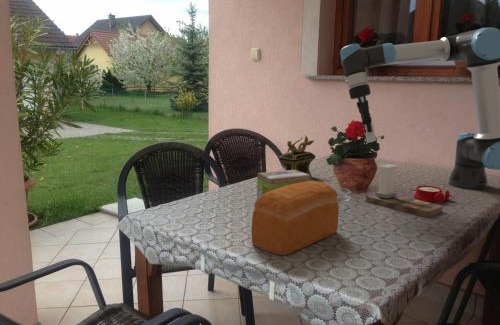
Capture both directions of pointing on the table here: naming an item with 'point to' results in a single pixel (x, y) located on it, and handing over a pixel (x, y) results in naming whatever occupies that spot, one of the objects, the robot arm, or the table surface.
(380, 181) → the fader tab
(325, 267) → the table surface
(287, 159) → the decorative box
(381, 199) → the board
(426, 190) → the alarm clock
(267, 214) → the bread
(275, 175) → the tea box
